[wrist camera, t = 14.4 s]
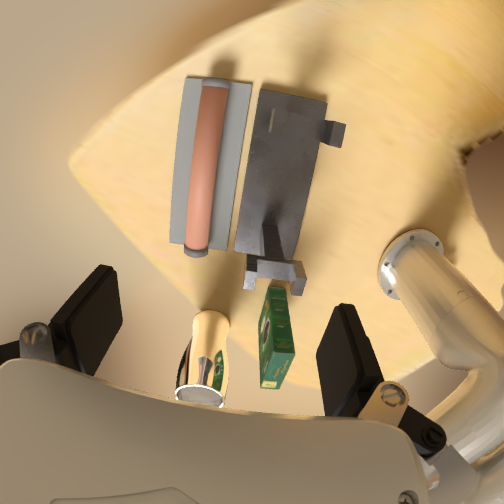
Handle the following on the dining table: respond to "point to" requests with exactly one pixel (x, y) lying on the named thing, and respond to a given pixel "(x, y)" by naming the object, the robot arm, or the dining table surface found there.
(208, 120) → the rod
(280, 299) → the coffee box
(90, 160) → the dining table surface
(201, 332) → the beer glass
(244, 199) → the hook stand
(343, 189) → the dining table surface
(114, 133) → the dining table surface
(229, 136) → the mat
